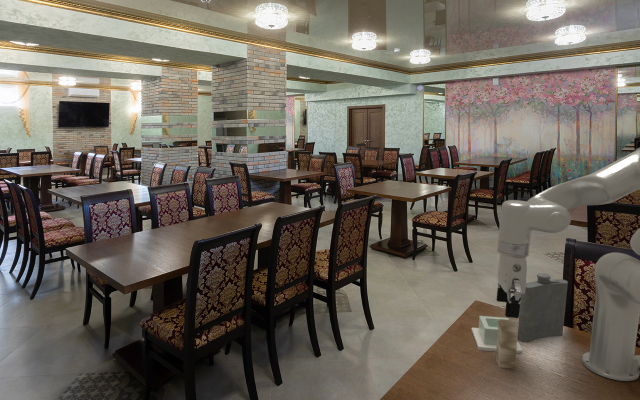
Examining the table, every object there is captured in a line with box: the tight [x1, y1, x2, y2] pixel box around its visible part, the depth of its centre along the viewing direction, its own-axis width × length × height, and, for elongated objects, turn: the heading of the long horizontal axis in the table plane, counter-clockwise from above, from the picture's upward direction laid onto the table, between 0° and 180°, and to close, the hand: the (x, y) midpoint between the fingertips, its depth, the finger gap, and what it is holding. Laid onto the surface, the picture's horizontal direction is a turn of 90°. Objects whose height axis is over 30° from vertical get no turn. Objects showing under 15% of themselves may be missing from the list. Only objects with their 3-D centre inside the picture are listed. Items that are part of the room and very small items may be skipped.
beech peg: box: [495, 319, 518, 369], centre depth 110 cm, size 4×4×12 cm
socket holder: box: [471, 315, 524, 355], centre depth 123 cm, size 12×12×6 cm
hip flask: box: [517, 272, 569, 343], centre depth 124 cm, size 16×4×20 cm, turn 105°
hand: (506, 309), depth 109 cm, fingers open, 9 cm apart
